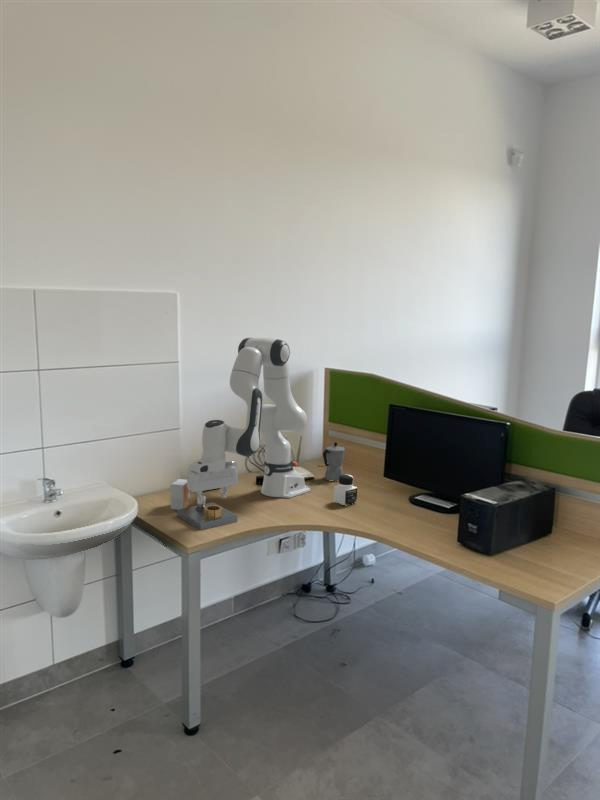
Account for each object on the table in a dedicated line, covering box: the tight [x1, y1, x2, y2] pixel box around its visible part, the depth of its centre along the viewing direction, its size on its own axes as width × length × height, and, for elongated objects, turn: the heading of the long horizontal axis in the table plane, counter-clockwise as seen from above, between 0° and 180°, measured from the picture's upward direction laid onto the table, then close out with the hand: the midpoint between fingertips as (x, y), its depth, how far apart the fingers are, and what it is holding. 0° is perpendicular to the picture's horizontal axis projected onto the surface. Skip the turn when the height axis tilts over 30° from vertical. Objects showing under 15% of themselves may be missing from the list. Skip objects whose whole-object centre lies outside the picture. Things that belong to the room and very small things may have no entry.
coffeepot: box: [322, 442, 346, 482], centre depth 290 cm, size 15×9×18 cm, turn 138°
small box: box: [170, 478, 192, 511], centre depth 245 cm, size 8×6×10 cm
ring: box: [204, 504, 224, 519], centre depth 229 cm, size 7×7×3 cm
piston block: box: [176, 494, 239, 531], centre depth 233 cm, size 16×18×8 cm
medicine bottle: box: [333, 473, 358, 506], centre depth 257 cm, size 7×7×12 cm
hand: (212, 499), depth 228 cm, fingers open, 8 cm apart
